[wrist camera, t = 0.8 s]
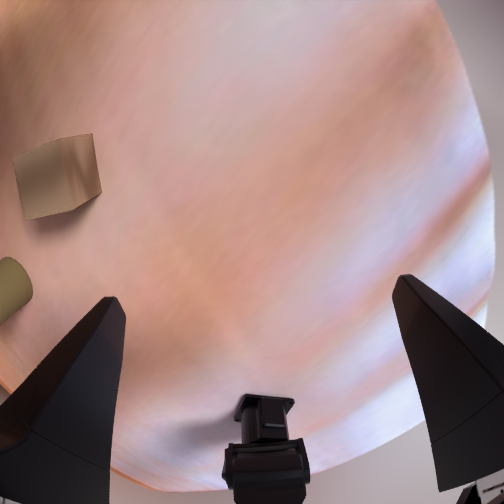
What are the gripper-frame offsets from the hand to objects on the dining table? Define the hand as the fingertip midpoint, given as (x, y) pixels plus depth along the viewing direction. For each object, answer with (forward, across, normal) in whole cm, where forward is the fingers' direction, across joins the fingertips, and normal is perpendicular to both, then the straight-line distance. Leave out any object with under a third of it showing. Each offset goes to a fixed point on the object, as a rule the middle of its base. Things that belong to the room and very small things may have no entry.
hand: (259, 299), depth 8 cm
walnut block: (+15, +14, -1) cm, 21 cm away
